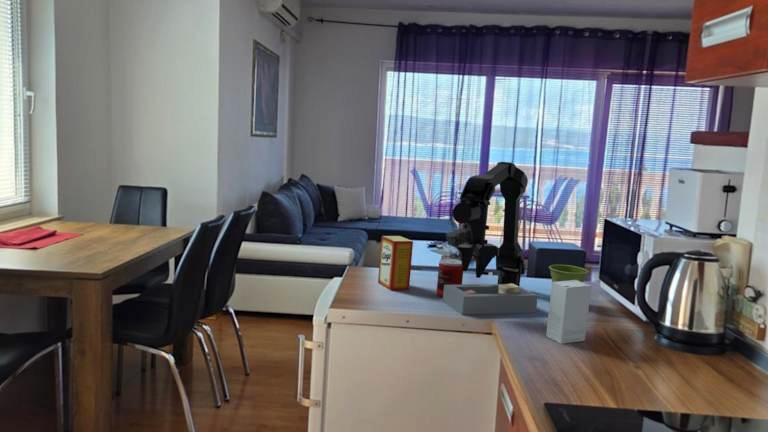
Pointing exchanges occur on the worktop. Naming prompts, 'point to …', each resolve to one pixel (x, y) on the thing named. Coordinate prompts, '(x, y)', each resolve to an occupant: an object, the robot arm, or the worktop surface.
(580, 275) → the plant pot
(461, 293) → the pocket board
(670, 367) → the worktop surface
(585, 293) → the skincare box
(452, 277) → the canned food
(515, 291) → the beige block
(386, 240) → the baking soda box
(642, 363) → the worktop surface
